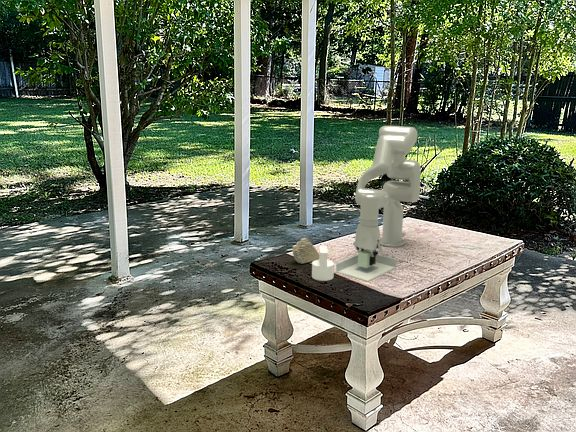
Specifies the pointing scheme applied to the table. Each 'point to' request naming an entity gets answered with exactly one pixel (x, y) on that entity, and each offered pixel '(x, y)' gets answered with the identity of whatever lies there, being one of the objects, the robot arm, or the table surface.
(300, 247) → the fossil tooth
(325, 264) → the white knob
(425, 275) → the table surface
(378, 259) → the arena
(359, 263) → the block
